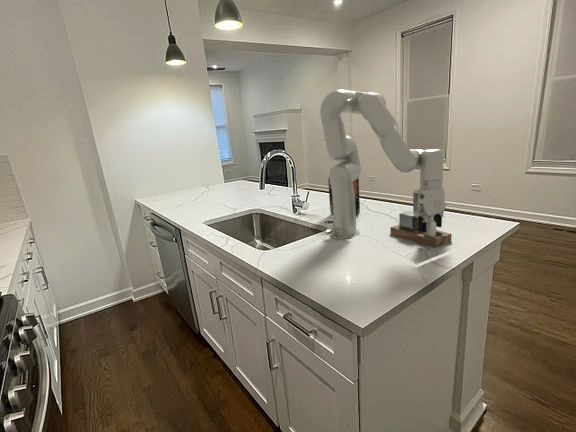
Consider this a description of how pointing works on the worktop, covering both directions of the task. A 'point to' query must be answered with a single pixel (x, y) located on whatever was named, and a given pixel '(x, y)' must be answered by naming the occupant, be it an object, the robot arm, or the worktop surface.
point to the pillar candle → (416, 200)
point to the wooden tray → (422, 236)
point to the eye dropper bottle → (430, 227)
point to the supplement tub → (357, 201)
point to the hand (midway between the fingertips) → (429, 228)
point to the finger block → (408, 221)
